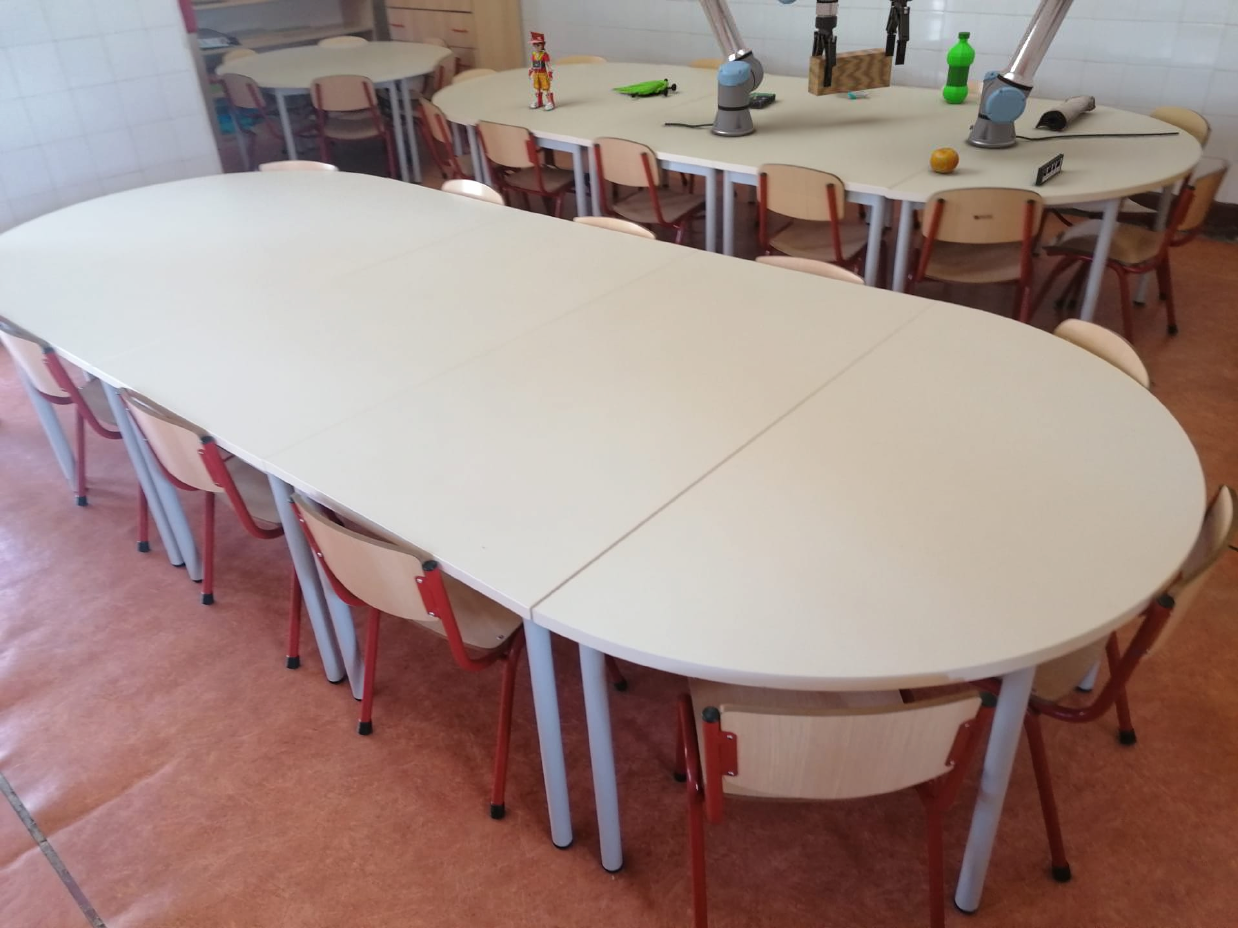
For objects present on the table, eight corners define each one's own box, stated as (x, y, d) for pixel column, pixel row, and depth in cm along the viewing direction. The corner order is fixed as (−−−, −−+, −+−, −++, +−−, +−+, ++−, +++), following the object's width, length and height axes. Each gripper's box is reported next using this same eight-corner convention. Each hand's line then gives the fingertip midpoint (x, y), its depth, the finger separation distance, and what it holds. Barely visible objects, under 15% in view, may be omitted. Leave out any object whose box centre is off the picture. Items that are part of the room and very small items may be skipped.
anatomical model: (833, 70, 374) (857, 63, 373) (835, 95, 380) (859, 89, 379) (843, 78, 362) (868, 71, 361) (846, 104, 367) (870, 97, 367)
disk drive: (760, 109, 361) (775, 100, 371) (761, 102, 360) (776, 93, 370) (737, 107, 366) (752, 98, 376) (737, 100, 364) (753, 91, 374)
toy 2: (686, 85, 398) (631, 84, 414) (685, 72, 395) (629, 72, 411) (651, 104, 381) (596, 103, 397) (650, 92, 378) (594, 91, 394)
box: (816, 96, 325) (819, 60, 318) (807, 92, 331) (809, 56, 324) (889, 86, 330) (893, 51, 324) (879, 82, 337) (882, 47, 330)
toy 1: (525, 109, 381) (517, 32, 364) (534, 104, 388) (527, 28, 371) (550, 110, 377) (543, 32, 360) (559, 105, 384) (553, 28, 367)
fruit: (924, 163, 281) (941, 140, 278) (925, 165, 289) (941, 143, 286) (946, 178, 280) (963, 155, 277) (947, 180, 288) (963, 158, 285)
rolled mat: (1063, 100, 336) (1087, 83, 328) (1076, 121, 336) (1101, 104, 328) (1031, 122, 319) (1056, 104, 310) (1045, 143, 319) (1071, 126, 311)
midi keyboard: (1039, 185, 269) (1043, 168, 266) (1035, 184, 270) (1038, 168, 267) (1060, 170, 279) (1064, 154, 277) (1056, 169, 280) (1060, 153, 277)
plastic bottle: (973, 101, 354) (984, 32, 339) (955, 106, 349) (966, 36, 335) (952, 97, 361) (962, 29, 346) (934, 102, 356) (944, 33, 342)
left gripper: (850, 18, 307) (844, 89, 320) (823, 10, 323) (819, 78, 336) (829, 20, 305) (825, 91, 318) (804, 13, 322) (800, 80, 335)
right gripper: (925, -9, 267) (916, 67, 279) (904, -19, 287) (896, 52, 299) (900, -7, 267) (891, 69, 279) (881, -18, 287) (873, 53, 299)
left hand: (822, 84), depth 327 cm, fingers closed on box, 8 cm apart
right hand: (894, 60), depth 289 cm, fingers open, 13 cm apart
